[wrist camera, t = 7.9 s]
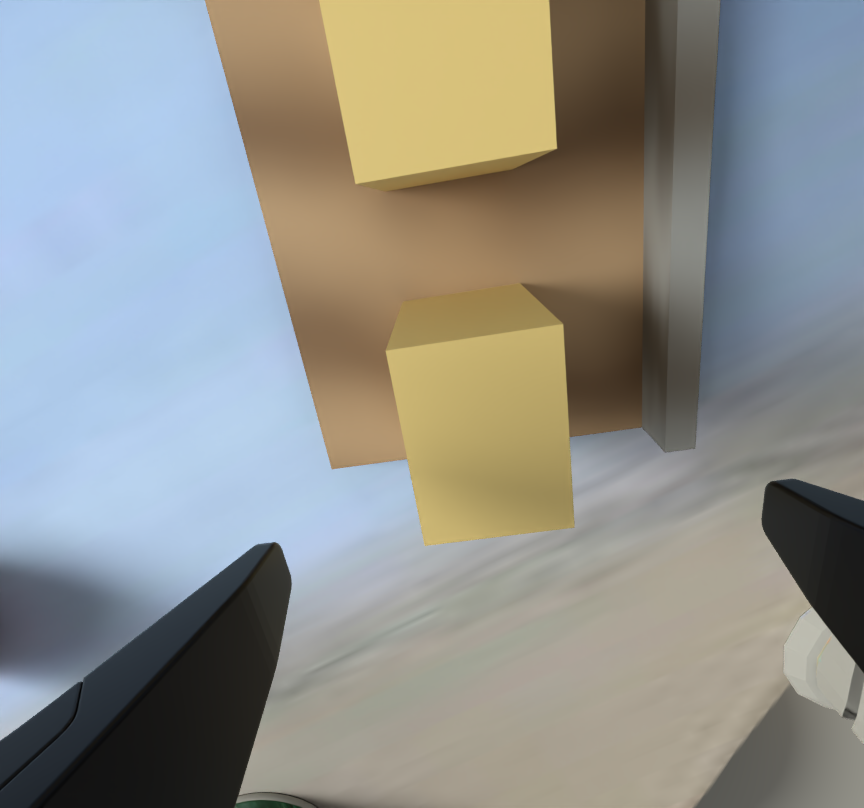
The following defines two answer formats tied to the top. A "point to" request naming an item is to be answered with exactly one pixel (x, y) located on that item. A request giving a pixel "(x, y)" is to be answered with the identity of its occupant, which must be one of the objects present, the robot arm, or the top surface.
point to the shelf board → (496, 216)
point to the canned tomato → (270, 801)
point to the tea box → (441, 87)
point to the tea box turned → (483, 413)
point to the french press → (824, 670)
